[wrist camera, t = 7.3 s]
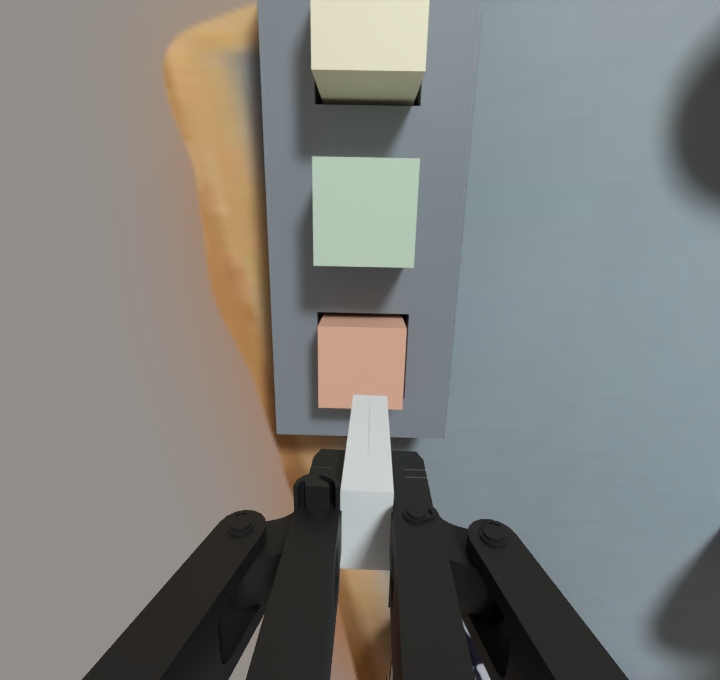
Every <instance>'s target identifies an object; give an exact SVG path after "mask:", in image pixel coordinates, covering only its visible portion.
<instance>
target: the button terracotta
mask: <svg viewBox="0 0 720 680" xmlns="http://www.w3.org/2000/svg"><path fill="white" fill-rule="evenodd" d="M406 334H407V328H406V325H405V323H404V320H403V318H402V315H401V314H380V313H336V312H325V313H324V315H323V317H322V319H321V321H320V323H319V325H318V408H349V409H351V408H352V401H353V395H378V396H387V401H388V410H402V407H403V389H404V371H405V352H406Z"/></svg>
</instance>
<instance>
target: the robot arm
mask: <svg viewBox="0 0 720 680" xmlns="http://www.w3.org/2000/svg"><path fill="white" fill-rule="evenodd" d="M293 487H294V512H293V513H292V514H290V515H288V516H286V517H284V518H280V519H277V520H271V521H265V518H264V517H263V515H262V514H261V513H258V512H256V511H252V510H243V511H238V512H234V513H232V514H230V515H228V516H226V517H225V518H224V519H223V520H222V521H220V522H219V524H218V525H217V526H216V527H215V528H214V529H213V531H212V532H211V533H210V534H209V535H208V536H207V537H206V539H205V540H204V541H203V542H202V543H201V544H200V546H198V548H197V549H196V550H195V551H194V552H193V553H192V554H191V556H190V557H189V558H188V559H187V560H186V561H185V562H184V564H183V565H182V566H181V567H180V568H179V569H178V571H177V572H176V573H175V574H174V575H173V576H172V577H171V579H170V580H169V581H168V582H167V583H166V584H165V585H164V586H163V588H162V589H161V590H160V591H159V592H158V594H156V596H155V597H154V598H153V599H152V600H151V601H150V602H149V604H148V605H147V606H146V607H145V608H144V609H143V611H142V612H141V613H140V614H139V615H138V616H137V617H136V618H135V620H134V621H133V622H132V623H131V624H130V625H129V627H128V628H127V629H126V630H125V631H124V632H123V633H122V634H121V636H120V637H119V638H118V639H117V640H116V642H115V643H114V644H113V645H112V646H111V647H110V648H109V649H108V650H107V652H106V653H105V654H104V655H103V656H102V657H101V658H100V660H99V661H98V662H97V663H96V664H95V665H94V666H93V668H92V669H91V670H90V671H89V672H88V674H86V676H85V677H84V678H83V679H82V680H228V679H229V677H230V676H231V674H232V672H233V670H234V668H235V666H236V665H237V663H238V661H239V659H240V657H241V656H242V654H243V652H244V650H245V648H246V646H247V645H248V643H249V641H250V639H251V637H252V635H253V633H254V632H255V630H256V628H257V626H258V625H259V623H260V621H261V619H262V617H263V615H264V618H263V621H262V625H261V628H260V632H259V635H258V639H257V642H256V646H255V649H254V653H253V656H252V660H251V663H250V667H249V670H248V674H247V678H246V680H330V674H331V663H332V654H333V643H334V633H335V623H336V612H337V603H338V593H339V570H340V568H347V569H368V570H389V571H390V586H389V606H388V607H390V615H391V642H392V670H393V680H475V675H474V671H473V666H472V662H471V657H470V653H469V648H468V644H467V639H466V635H465V630H464V625H463V622H464V624H465V626H466V628H467V630H468V633H469V635H470V637H471V639H472V641H473V643H474V645H475V647H476V650H477V652H478V654H479V656H480V658H481V660H482V662H483V665H484V667H485V669H486V671H487V673H488V675H489V677H490V679H491V680H629V679H628V678H627V677H626V675H625V674H624V673H623V672H622V670H621V669H620V668H619V666H618V665H617V664H616V663H615V661H614V660H613V659H612V657H611V656H610V655H609V654H608V652H607V651H606V650H605V648H604V647H603V646H602V645H601V643H600V642H599V641H598V639H597V638H596V637H595V635H594V634H593V633H592V632H591V630H590V629H589V628H588V626H587V625H586V624H585V623H584V621H583V620H582V619H581V617H580V616H579V615H578V614H577V612H576V611H575V610H574V608H573V607H572V606H571V605H570V603H569V602H568V601H567V599H566V598H565V597H564V595H563V594H562V593H561V592H560V590H559V589H558V588H557V586H556V585H555V584H554V583H553V581H552V580H551V579H550V577H549V576H548V575H547V574H546V572H545V571H544V570H543V568H542V567H541V566H540V564H539V563H538V562H537V561H536V559H535V558H534V557H533V555H532V554H531V553H530V552H529V550H528V549H527V548H526V546H525V545H524V544H523V543H522V541H521V540H520V539H519V537H518V536H517V535H516V534H515V533H514V532H513V531H512V530H511V529H510V528H509V527H508V526H506V525H504V524H502V523H501V522H498V521H494V520H491V519H480V520H477V521H474V522H473V523H472V524H471V525H470V526H469V528H468V529H465V528H462V527H458V526H455V525H453V524H450V523H448V522H446V521H445V520H443V519H442V518H441V517H440V516H439V514H438V512H437V510H436V509H435V508H434V507H433V505H432V500H431V495H430V490H429V485H428V481H427V476H426V471H425V466H424V461H423V459H422V458H421V457H420V456H419V455H418V454H417V452H409V451H391V444H390V430H389V415H388V401H387V396H378V395H353V401H352V408H351V415H350V423H349V430H348V438H347V445H346V450H331V449H321V450H320V451H319V452H318V453H317V454H316V455H315V456H314V458H313V461H312V465H311V469H310V472H309V474H307V475H304V476H302V477H301V478H299V479H298V480H297V481H296V482H295V484H294V486H293ZM462 620H463V621H462Z"/></svg>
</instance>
